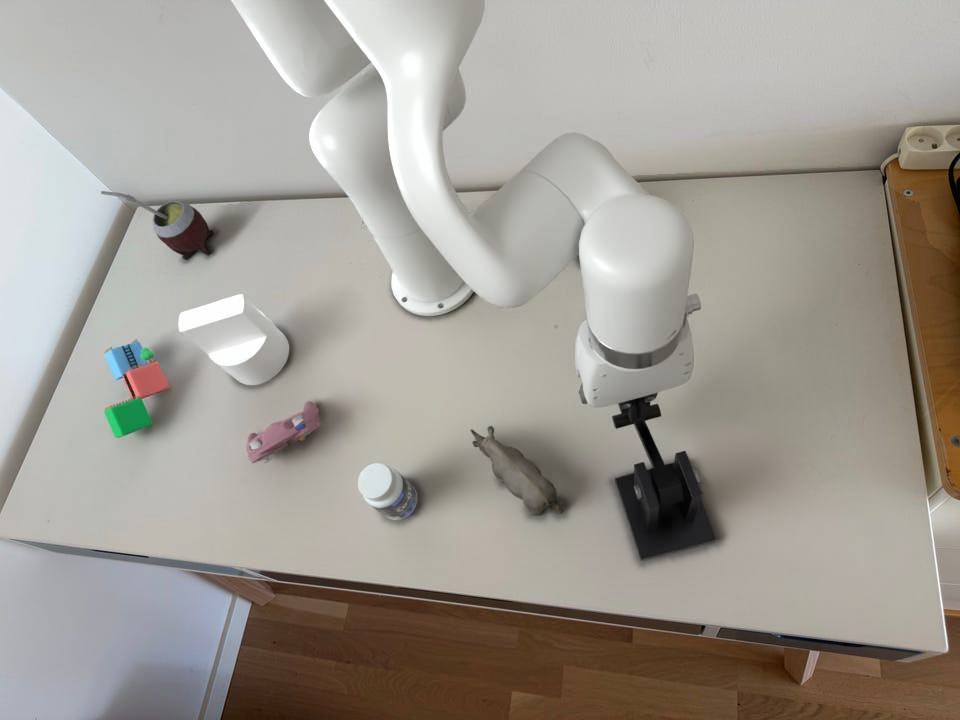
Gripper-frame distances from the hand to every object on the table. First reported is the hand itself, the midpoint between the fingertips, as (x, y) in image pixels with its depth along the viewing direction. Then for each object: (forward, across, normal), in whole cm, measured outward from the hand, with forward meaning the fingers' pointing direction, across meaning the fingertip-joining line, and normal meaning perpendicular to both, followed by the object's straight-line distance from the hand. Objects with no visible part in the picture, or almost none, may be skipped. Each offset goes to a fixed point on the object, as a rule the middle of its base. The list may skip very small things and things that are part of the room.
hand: (633, 407), depth 69 cm
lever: (+1, 0, +6) cm, 6 cm away
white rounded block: (+8, +46, -26) cm, 53 cm away
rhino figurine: (+8, +14, +1) cm, 16 cm away
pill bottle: (+8, +29, 0) cm, 30 cm away
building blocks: (+9, +64, -25) cm, 69 cm away
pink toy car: (+8, +42, -12) cm, 44 cm away
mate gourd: (+9, +56, -50) cm, 75 cm away
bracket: (+8, 0, +10) cm, 12 cm away
